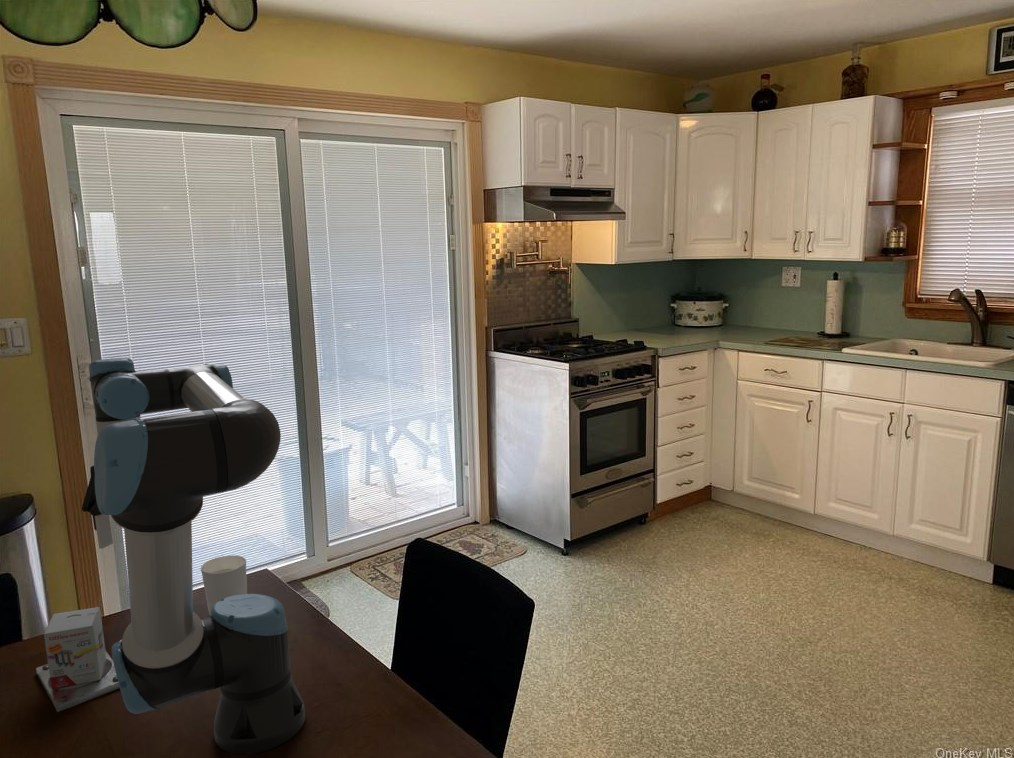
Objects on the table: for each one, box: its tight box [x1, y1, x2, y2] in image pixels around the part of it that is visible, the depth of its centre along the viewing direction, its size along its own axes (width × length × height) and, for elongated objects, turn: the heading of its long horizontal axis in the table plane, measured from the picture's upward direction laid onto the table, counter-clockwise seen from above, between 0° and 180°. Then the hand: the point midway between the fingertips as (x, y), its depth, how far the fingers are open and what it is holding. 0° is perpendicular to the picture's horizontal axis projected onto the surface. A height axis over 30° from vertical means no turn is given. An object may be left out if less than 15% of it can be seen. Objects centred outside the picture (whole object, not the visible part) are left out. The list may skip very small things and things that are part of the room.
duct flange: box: [35, 651, 120, 713], centre depth 145 cm, size 18×12×2 cm, turn 43°
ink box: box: [43, 606, 107, 690], centre depth 144 cm, size 9×9×12 cm
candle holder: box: [200, 555, 248, 616], centre depth 170 cm, size 10×10×12 cm
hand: (135, 547), depth 142 cm, fingers open, 13 cm apart
